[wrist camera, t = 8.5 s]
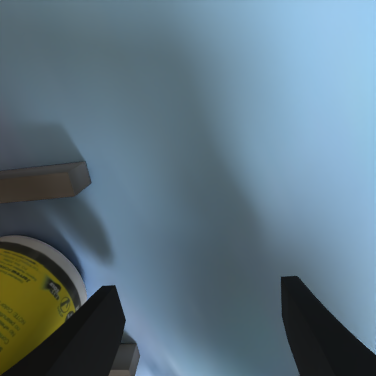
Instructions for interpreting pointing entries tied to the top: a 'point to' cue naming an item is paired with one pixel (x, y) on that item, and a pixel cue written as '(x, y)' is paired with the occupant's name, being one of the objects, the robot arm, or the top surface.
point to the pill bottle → (33, 295)
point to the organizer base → (58, 188)
